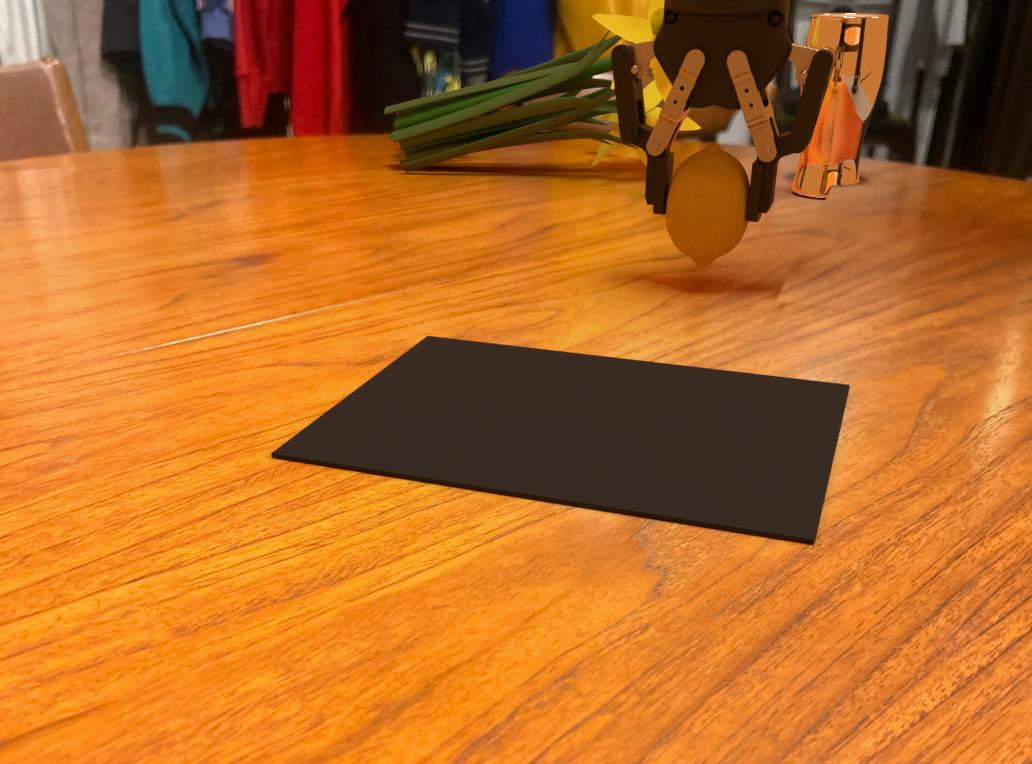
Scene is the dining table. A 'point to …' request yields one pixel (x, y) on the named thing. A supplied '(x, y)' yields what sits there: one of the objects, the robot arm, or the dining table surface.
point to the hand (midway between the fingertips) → (707, 214)
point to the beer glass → (843, 98)
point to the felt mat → (593, 434)
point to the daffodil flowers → (451, 133)
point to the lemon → (708, 205)
